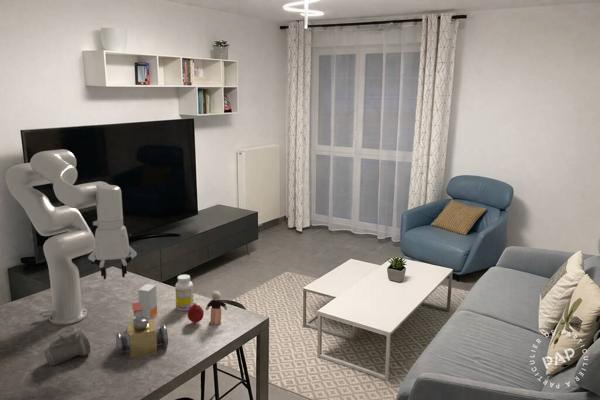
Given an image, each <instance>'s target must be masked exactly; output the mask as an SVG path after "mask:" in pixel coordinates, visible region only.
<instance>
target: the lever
mask: <svg viewBox="0 0 600 400" xmlns="http://www.w3.org/2000/svg"><path fill="white" fill-rule="evenodd" d="M131 308H132V309H131V310H132V312H133V315H134V316H135V318H134V319H133V321H132V323H133V324H134V329H137V330H142V329H145V328H147V327H148V326H149V322H148V318H147V317H143V315H142V308H141V305H140V302H139V301H138V302H134V303H131Z"/></svg>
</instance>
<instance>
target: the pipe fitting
mask: <svg viewBox="0 0 600 400" xmlns="http://www.w3.org/2000/svg"><path fill="white" fill-rule="evenodd" d="M58 336H59V338H57V339H55V340H53V341H51V342H50V344H49V346H48V347H45V350H44V356H45V359H46V362H47V363H48V365H50V366H52V367H54V366H56V365H59V364H62V363H63V362H65V361H67V360H70V359H72V358H74V357H76V356H86V355H88V354H90V353H91V344H90V341H89V339H88V337H87V335H86V332H84V331H83V329H77V327H76V326H71V325H70V326H66V327H63V328H62V329H60V331H59V332H58Z"/></svg>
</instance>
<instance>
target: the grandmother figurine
mask: <svg viewBox="0 0 600 400" xmlns="http://www.w3.org/2000/svg"><path fill="white" fill-rule="evenodd" d="M211 297H212V299H211V300H210V301H208V303H207V305H206V307H205V310H206V311H208V310H209V308H210V316H209V317H210V321H209V322H208V325H210V326H213V325H216V326H220V325H221V324H222V322H221V321H222V308H221V307H223V308H224V310H225V311H227V310H228V307H227V305H226V303H225V302H224V301H222V300H220V298H221V297H222V294H221V293H220V291H218V290H214V291H213V292H212V293H211Z"/></svg>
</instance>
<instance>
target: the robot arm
mask: <svg viewBox="0 0 600 400" xmlns="http://www.w3.org/2000/svg"><path fill="white" fill-rule="evenodd" d="M76 167H77V158H76V156H75V155H74V153H72V152H71V151H70V150H68V149H64V148H63V149H52V150H44V151H39V152H37V153H35V154H33V156H32V157H31V158H30V162H25V163H20V164H16V165H13V166H11V167H10V168H8V169H7V170H6V173H5V182H6V186H7V189H8V191H9V193H10V194H11V196H12V197H13V198H14V199H15V200H16V201H17V202H18V203H19V204H20V206H21V207H22V208H23V209H24V211H25V213H26V215H27V216H28V218H29V220H30V221H31V222H30V223H31V224H32V225H33V228H34V229H35V230H36V231H37V233H38V234H39V235H40V236H43V237H48V239H47V240H45V242H44V244H43V246H42V247H43V248H42V249H43V254H44V257H45V259H46V263H47V266H48V267H47V269H48V274H49V282H50V283H49V284H50V294H51V307H48V308H46V309H44V308H43V309H39V311H38V313H39V316H42V318H45V317H48V320H49V322H50V323H51V324H53V325H58V326H59V325H60V326H61V325H62V326H63V325H71V324H74V323H78V322H80V321H82V320H83V319H85V318H86V317H87V315H88V310H87V309H86V308H84V307H83V306H82V305H83V304H82V293H81V281H80V271H79V268H78V267H77V265H76V264H75V263H73V261H72V259H75V258H78V257H81V256H84V255H85V256H86V255H87V254H89V255H88V257H87V258H88V260H89V261H92V262H93V263H95V265H97V266H98V267H99V268H100V275H101V277H102V279H103V280H107V266H106V264H105V262H106V261H109V260H110V261H111V260H112V261H113V260H121V275H122V278H126V276H125V275H127V273H128V269H127V267H128V266H127V265H128V264H129V263H130V262H131V261H132V260H133V259H134V258H135V257H136V256H137V255H138V253H137V251H136V250H135V249H134V248H132V247H131V246H130V244H129V243H130V242H129V235H128V231H127V227H126V226H125V225H124V214H123V198H122V196H123V195H122V190H121V187H119V186H118V185H114V184H109V183H108V182H105V181H99V180H98V181H94V182H92V181H91V182H87V183H81V184H76V185H74V184H75V183H76V181H77V179H78V170H77V168H76ZM47 184H52V188H53V191H54V193H53V194H55V197H56V198H57V199H58V201H59V202H61V203H63V204H64V205H60V206H54V205H53V204H52V203H51V202H50V199H49V198H48V197H47V196H46V195H45V194H44V193H43V192H41V191H40V190H39V189H36V188H34V187H36V186H37V187H38V186H42V185H47ZM93 206H94V207H95V206H96V215H97V219H96V220H94V221H92V225H93V227H94V226H96V227H97V228H96V229H95V235H94V234H93V232H92V230H91V228H90V227H89V225H88V223H87V221H86V220H85V219H84V216H83V215H82V213H81V212H80V211H79V210H80V209H81V210H82V209H86V208H90V207H93ZM50 236H51V237H50Z"/></svg>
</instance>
